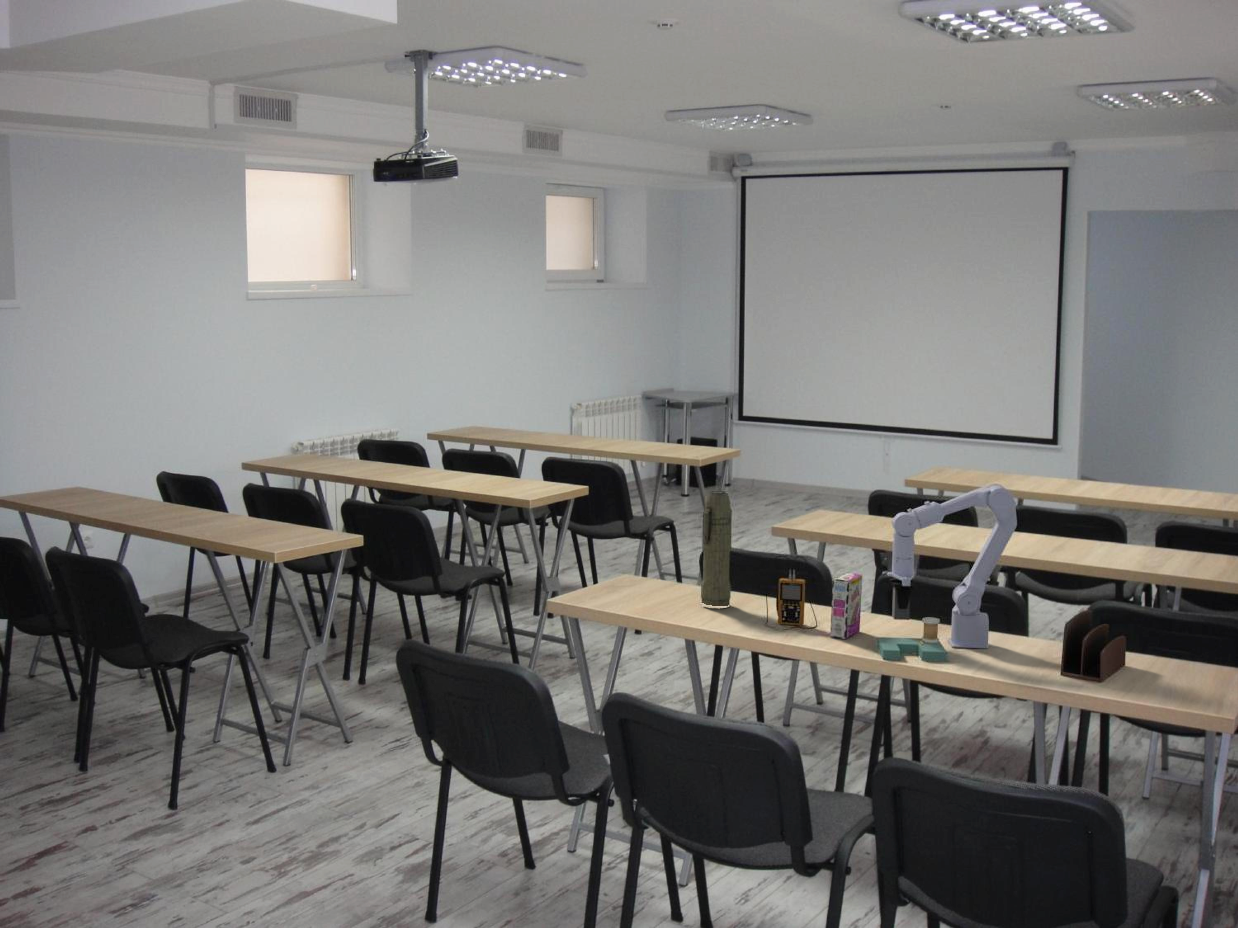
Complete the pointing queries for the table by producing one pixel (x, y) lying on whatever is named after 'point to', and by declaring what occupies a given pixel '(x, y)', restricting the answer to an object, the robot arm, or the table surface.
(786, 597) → the multimeter
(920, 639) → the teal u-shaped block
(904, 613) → the terminal peg
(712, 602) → the thermos
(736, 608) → the table surface
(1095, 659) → the letter holder
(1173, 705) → the table surface
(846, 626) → the candy bar box
